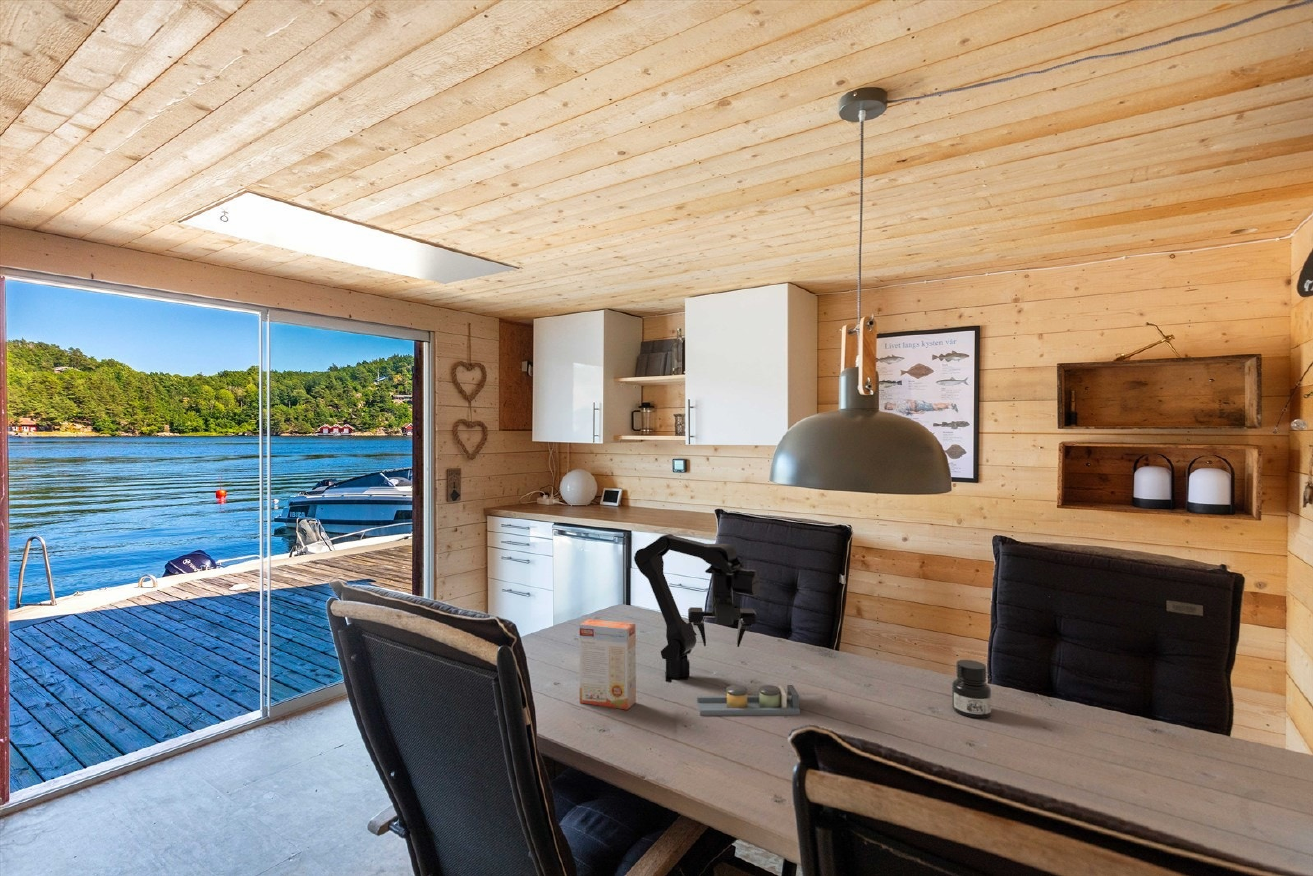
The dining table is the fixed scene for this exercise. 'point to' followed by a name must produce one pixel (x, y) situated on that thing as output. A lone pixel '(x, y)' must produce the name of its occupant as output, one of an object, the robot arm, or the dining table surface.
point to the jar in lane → (769, 696)
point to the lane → (719, 705)
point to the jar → (736, 696)
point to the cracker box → (607, 663)
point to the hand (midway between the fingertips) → (721, 646)
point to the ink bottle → (971, 690)
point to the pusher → (801, 697)
